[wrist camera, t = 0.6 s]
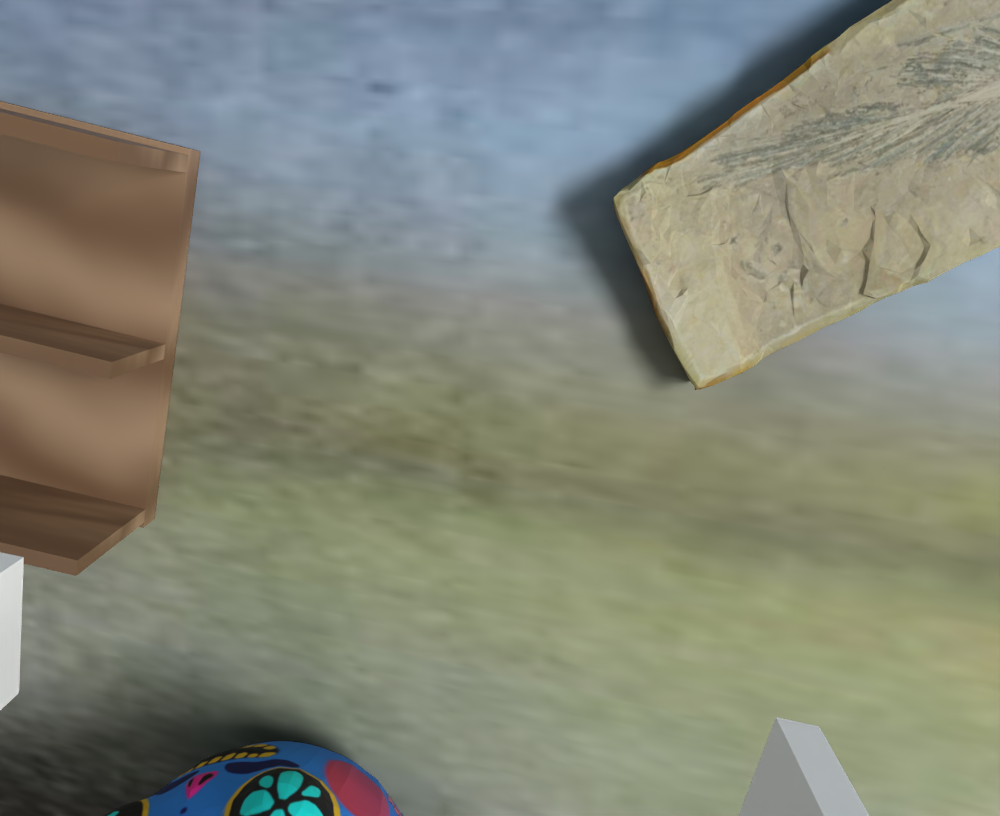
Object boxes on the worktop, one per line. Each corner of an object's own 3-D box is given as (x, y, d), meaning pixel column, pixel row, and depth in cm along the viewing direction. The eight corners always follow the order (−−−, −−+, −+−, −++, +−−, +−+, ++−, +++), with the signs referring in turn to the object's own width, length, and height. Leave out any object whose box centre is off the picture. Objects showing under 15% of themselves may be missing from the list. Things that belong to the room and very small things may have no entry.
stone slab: (1364, 65, 30) (717, 418, 33) (1260, 84, 34) (693, 397, 37) (1284, -240, 27) (591, 180, 31) (1182, -180, 31) (579, 185, 35)
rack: (-22, 95, 34) (-162, 63, 27) (200, 151, 35) (118, 133, 28) (-40, 472, 40) (-161, 525, 33) (154, 518, 40) (75, 581, 33)
